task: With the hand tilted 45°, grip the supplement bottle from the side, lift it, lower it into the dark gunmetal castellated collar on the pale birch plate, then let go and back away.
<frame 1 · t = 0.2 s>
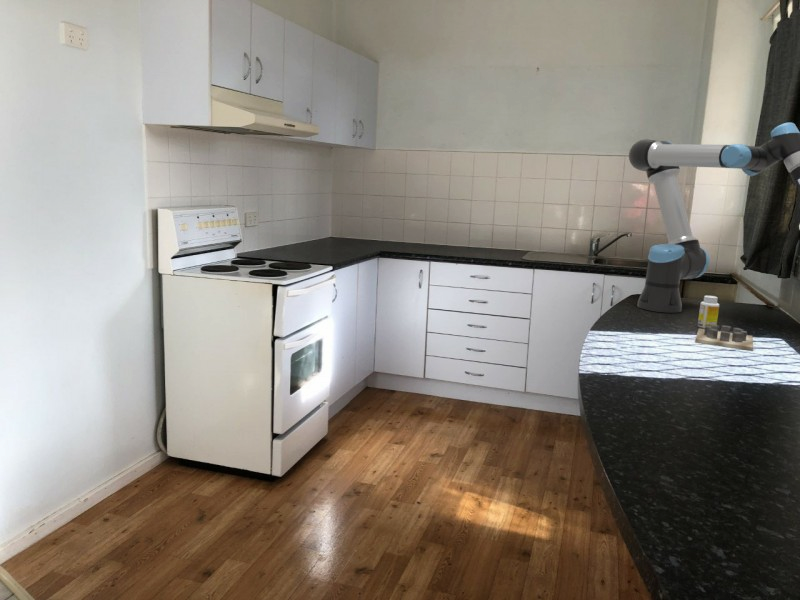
supplement bottle: (706, 328, 216), on the countertop
collar plate: (724, 340, 199), on the countertop
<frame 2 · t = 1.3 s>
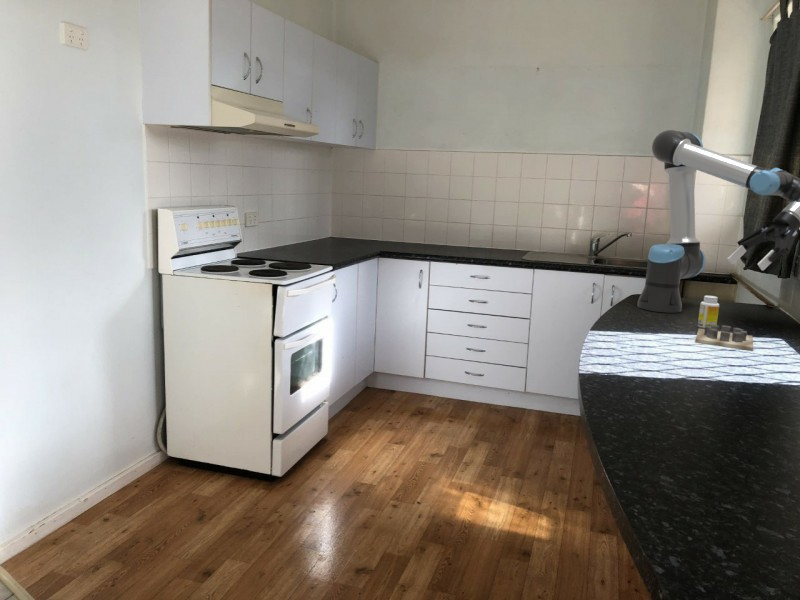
hand: (744, 264, 215), 21 cm above the countertop, tool tilted 45°, fingers open, 13 cm apart
nothing on the countertop moved.
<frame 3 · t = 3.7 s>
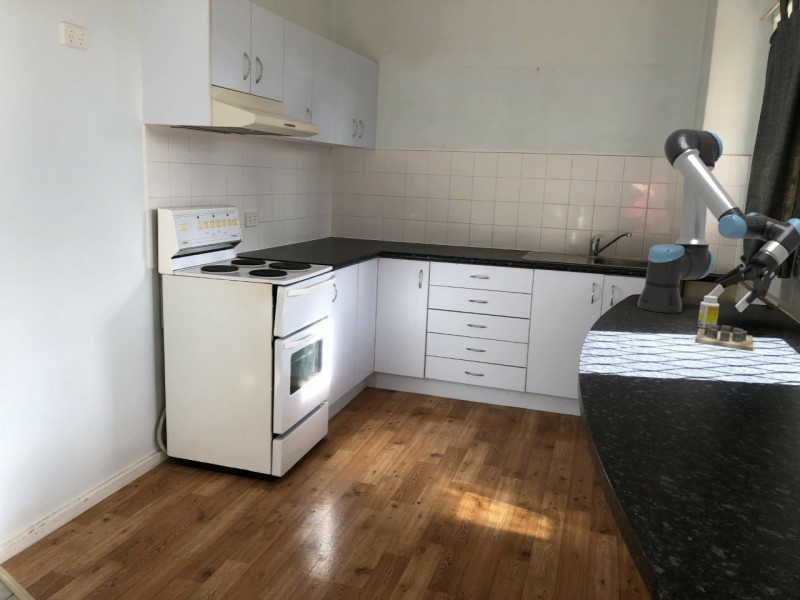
hand: (722, 305, 214), 8 cm above the countertop, tool tilted 45°, fingers open, 13 cm apart
nothing on the countertop moved.
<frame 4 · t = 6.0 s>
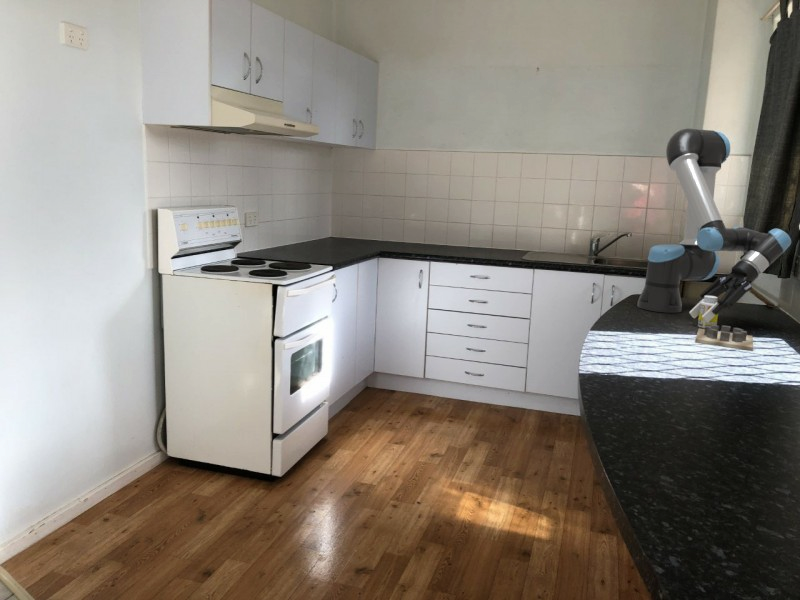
hand: (698, 317, 214), 3 cm above the countertop, tool tilted 45°, fingers closed on supplement bottle, 5 cm apart
supplement bottle: (706, 328, 216), on the countertop, touching gripper
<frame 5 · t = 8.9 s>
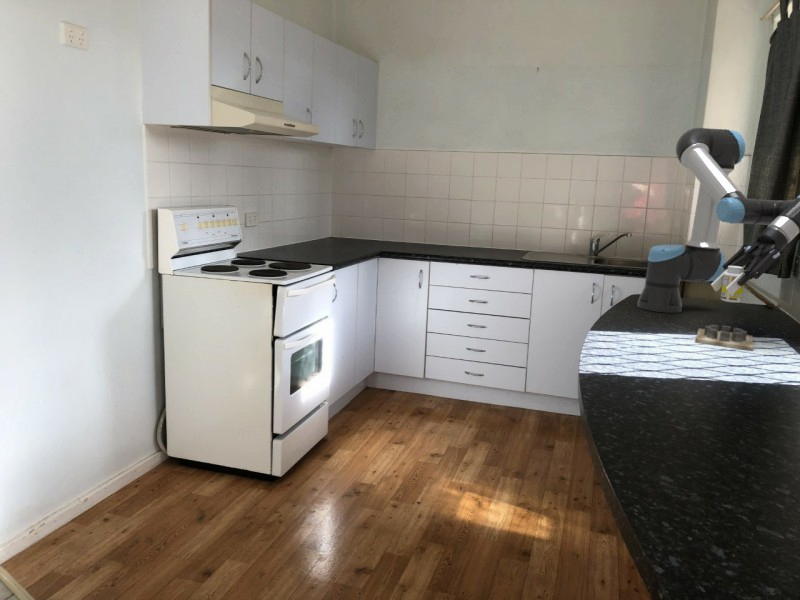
hand: (721, 289, 195), 15 cm above the countertop, tool tilted 45°, fingers closed on supplement bottle, 5 cm apart
supplement bottle: (730, 301, 196), point 12 cm above the countertop, touching gripper
when the fingers open (6 cm above the countertop, at t = 11.8 s): supplement bottle drops 1 cm, resting on collar plate.
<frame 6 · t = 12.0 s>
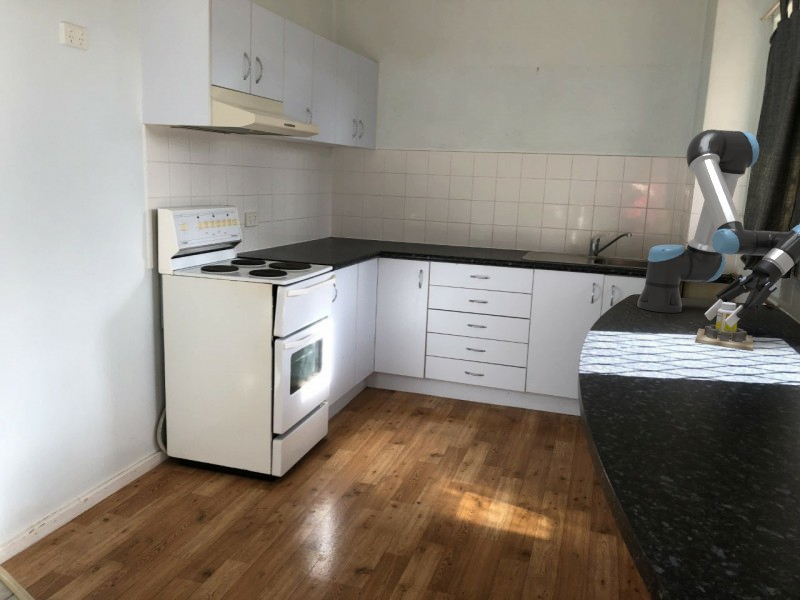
hand: (717, 320, 197), 6 cm above the countertop, tool tilted 45°, fingers open, 8 cm apart
supplement bottle: (724, 337, 198), point 1 cm above the countertop, touching collar plate
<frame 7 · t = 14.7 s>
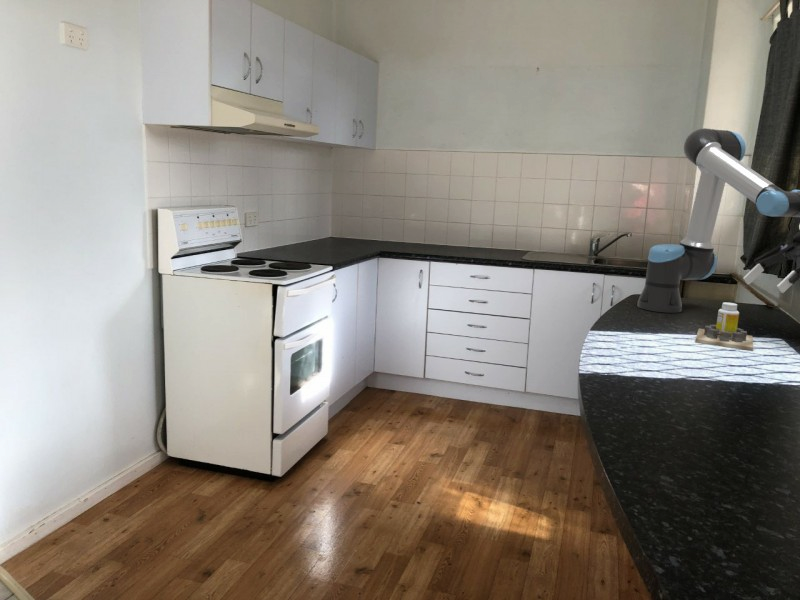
hand: (762, 285, 198), 17 cm above the countertop, tool tilted 45°, fingers open, 13 cm apart
nothing on the countertop moved.
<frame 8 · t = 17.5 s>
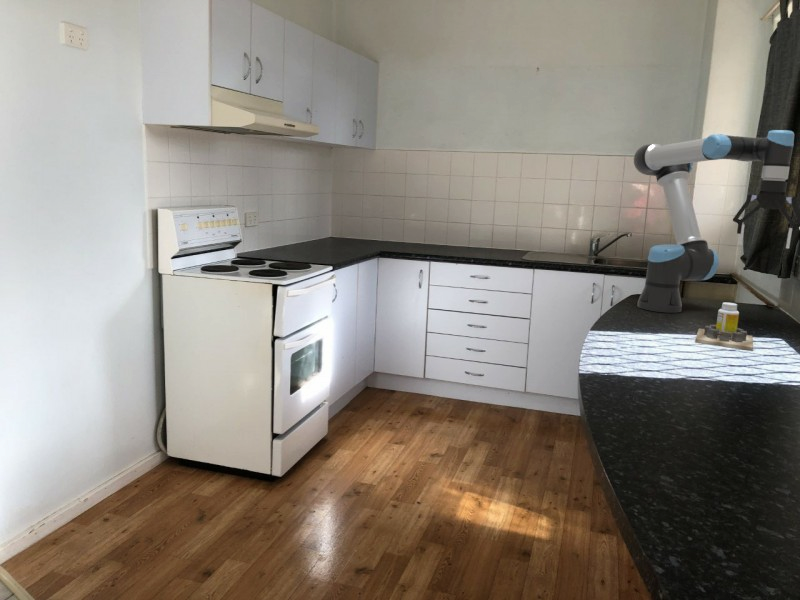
hand: (763, 246, 218), 27 cm above the countertop, tool pointing down, fingers open, 13 cm apart
nothing on the countertop moved.
at the end: supplement bottle 0.1 cm off-centre on the collar plate, point 0.8 cm above the collar plate's base; supplement bottle tilted 0°; the gripper is holding nothing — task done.
